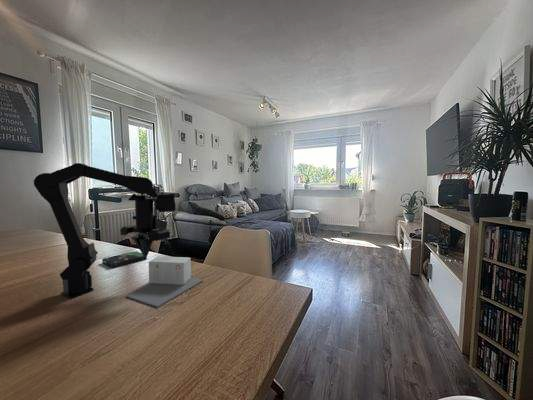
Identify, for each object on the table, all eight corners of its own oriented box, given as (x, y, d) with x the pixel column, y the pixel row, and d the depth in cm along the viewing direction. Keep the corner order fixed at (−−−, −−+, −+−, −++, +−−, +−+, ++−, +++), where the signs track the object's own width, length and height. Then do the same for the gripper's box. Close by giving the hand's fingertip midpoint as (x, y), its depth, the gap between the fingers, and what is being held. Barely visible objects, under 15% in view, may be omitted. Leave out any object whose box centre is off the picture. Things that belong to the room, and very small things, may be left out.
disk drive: (112, 270, 97) (147, 260, 109) (111, 263, 96) (147, 254, 108) (102, 264, 103) (136, 255, 115) (101, 258, 102) (136, 250, 114)
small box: (158, 276, 89) (191, 278, 88) (148, 283, 83) (183, 285, 82) (157, 255, 88) (191, 257, 87) (148, 261, 82) (183, 263, 81)
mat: (157, 307, 68) (157, 306, 68) (126, 297, 74) (126, 295, 74) (202, 281, 86) (202, 280, 86) (174, 274, 92) (174, 273, 92)
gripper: (181, 212, 86) (181, 253, 87) (146, 208, 93) (147, 246, 95) (155, 216, 76) (156, 262, 77) (118, 211, 83) (120, 254, 85)
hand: (145, 255), depth 84 cm, fingers closed
